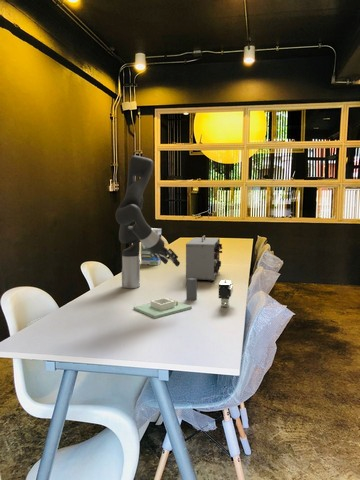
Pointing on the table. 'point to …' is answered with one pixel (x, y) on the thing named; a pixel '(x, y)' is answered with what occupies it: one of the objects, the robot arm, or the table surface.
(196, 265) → the vintage electronic device
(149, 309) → the board
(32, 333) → the table surface
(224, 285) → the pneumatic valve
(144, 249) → the string lights box
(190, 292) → the grey rectangular block
